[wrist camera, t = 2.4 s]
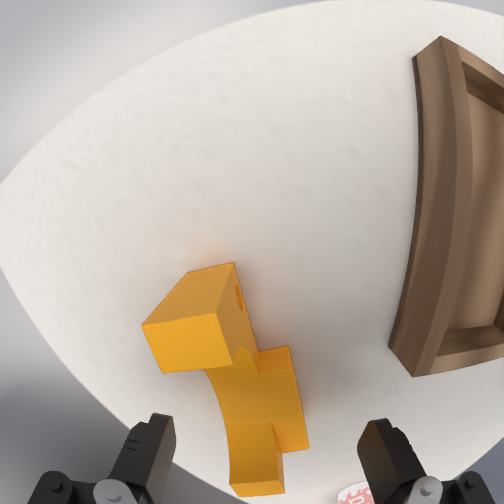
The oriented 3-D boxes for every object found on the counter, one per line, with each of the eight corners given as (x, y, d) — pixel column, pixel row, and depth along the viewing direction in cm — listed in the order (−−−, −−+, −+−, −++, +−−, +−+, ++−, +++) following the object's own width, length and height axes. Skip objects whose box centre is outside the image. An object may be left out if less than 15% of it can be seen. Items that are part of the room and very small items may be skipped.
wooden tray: (514, 114, 11) (542, 109, 8) (491, 333, 15) (516, 352, 11) (412, 58, 11) (440, 35, 8) (387, 345, 15) (412, 377, 11)
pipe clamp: (303, 415, 16) (316, 487, 10) (244, 425, 17) (239, 497, 10) (267, 253, 14) (273, 300, 8) (188, 271, 14) (141, 325, 8)
